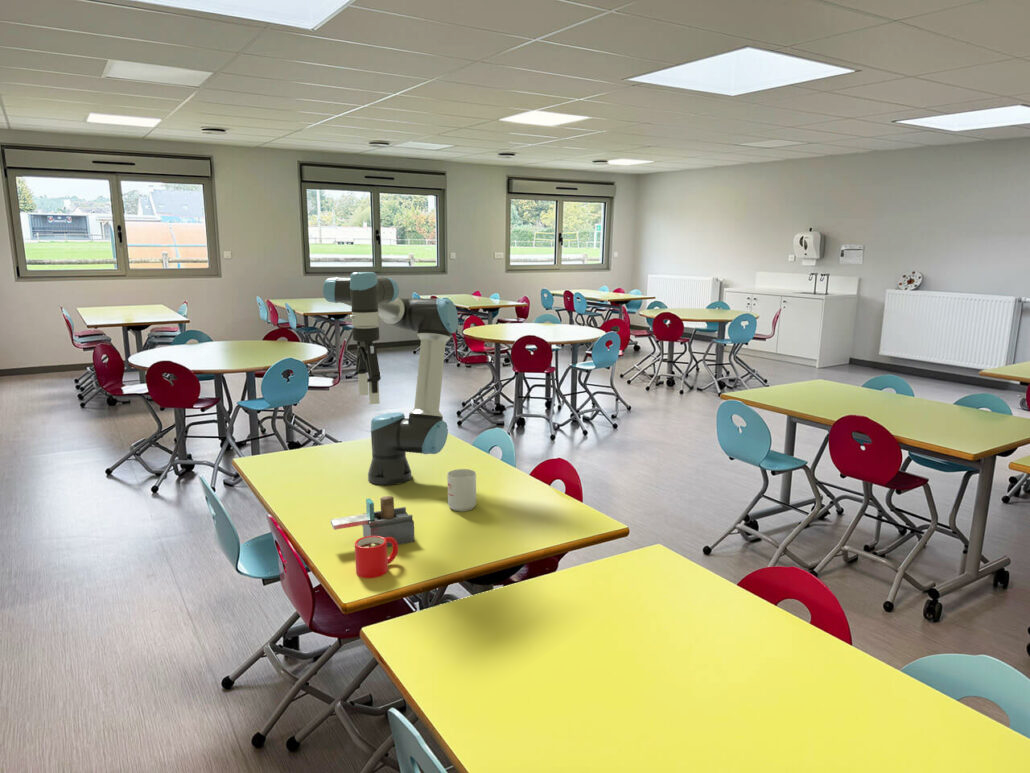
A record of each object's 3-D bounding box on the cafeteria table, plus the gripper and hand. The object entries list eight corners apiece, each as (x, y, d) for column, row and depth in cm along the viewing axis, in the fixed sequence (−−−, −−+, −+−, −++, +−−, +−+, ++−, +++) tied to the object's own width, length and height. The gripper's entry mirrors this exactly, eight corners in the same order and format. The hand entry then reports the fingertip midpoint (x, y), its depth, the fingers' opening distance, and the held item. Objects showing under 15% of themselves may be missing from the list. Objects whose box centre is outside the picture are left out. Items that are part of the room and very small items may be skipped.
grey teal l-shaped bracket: (330, 523, 191) (329, 504, 189) (370, 517, 195) (369, 498, 194) (334, 529, 186) (332, 509, 185) (374, 523, 191) (374, 503, 190)
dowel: (380, 537, 197) (379, 497, 194) (393, 535, 198) (391, 495, 196) (384, 542, 193) (382, 501, 191) (396, 540, 195) (395, 499, 193)
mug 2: (481, 508, 219) (481, 474, 217) (457, 514, 214) (457, 479, 212) (461, 497, 228) (460, 464, 226) (437, 503, 223) (436, 470, 221)
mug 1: (407, 565, 180) (406, 536, 178) (368, 581, 171) (367, 551, 169) (388, 556, 185) (387, 528, 183) (349, 571, 176) (348, 542, 175)
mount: (363, 536, 198) (362, 511, 196) (404, 528, 203) (403, 505, 201) (371, 549, 189) (370, 524, 188) (414, 541, 194) (413, 517, 192)
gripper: (343, 323, 210) (347, 392, 214) (362, 331, 187) (365, 409, 191) (368, 322, 213) (371, 390, 217) (389, 330, 190) (392, 406, 194)
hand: (368, 399), depth 204 cm, fingers open, 13 cm apart
